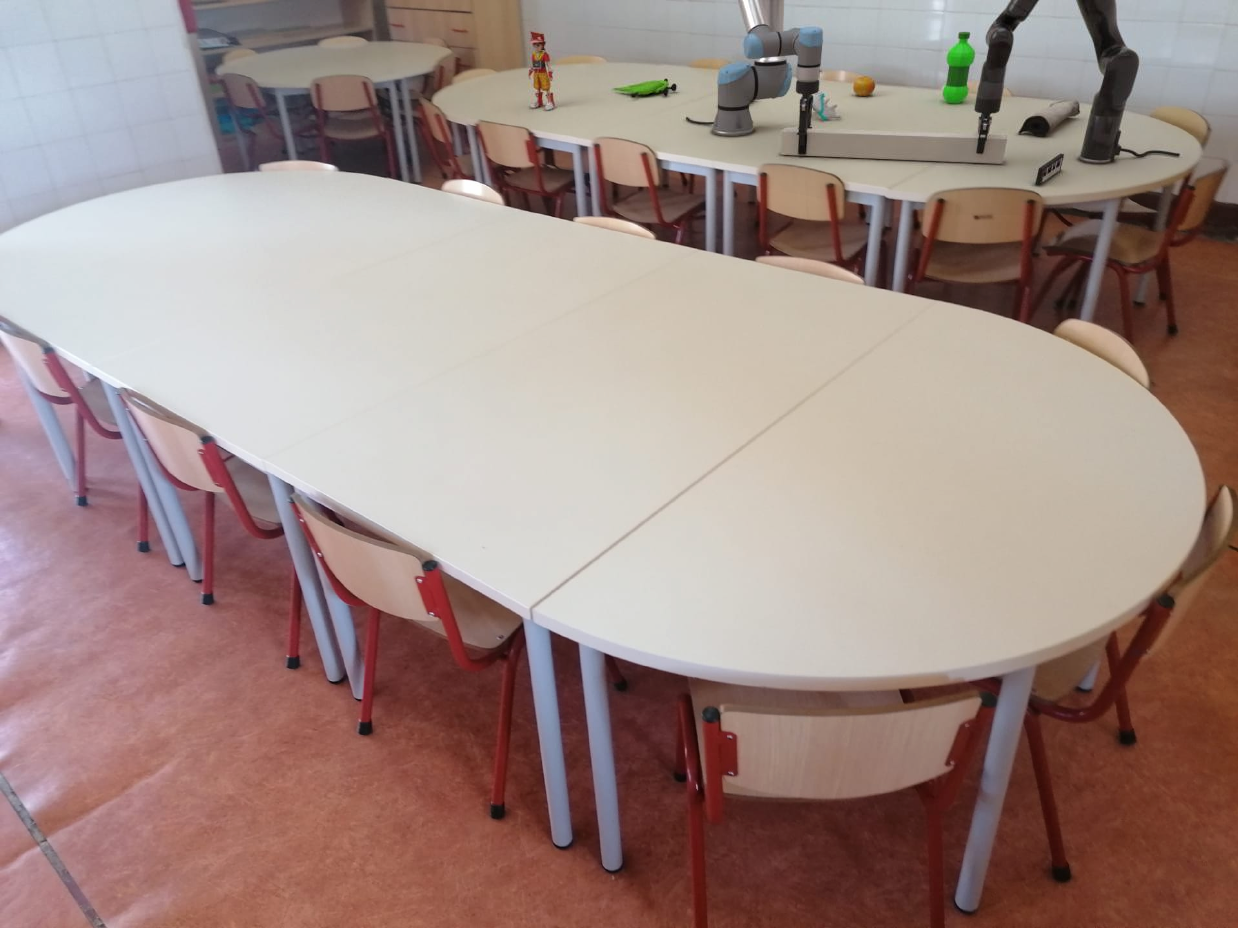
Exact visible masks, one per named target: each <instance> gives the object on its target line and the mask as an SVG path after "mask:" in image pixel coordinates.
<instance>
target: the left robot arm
mask: <svg viewBox="0 0 1238 928" xmlns="http://www.w3.org/2000/svg"><path fill="white" fill-rule="evenodd" d="M737 2H738V5H739V10H740V13H741V16H742V20H743V24H744V28H745V31H746V35H745V36H744V38H743V45H742V47H743V54H744V56H745V58H747V59H748V60H753V62H754V63H753V65H751V63H750V62H748V61H736V62H732V63H727V64H725V65H723V66H722V67H720V69H719V70H718V75H717V111H716V114H715V118H714V120H713V121H698V120H694V119H691V118H690V117H688V116H686V117H685V119H686V120H687V121H688V122H689V123H692V124H697V125H706V126H709V125H712V133H713V134H715V135H717V136H721V137H741V136H746V135H750V134H752V133H754V119H753V118H752V115H751V111H750V103H749V101H751V100H754V101H759V100H770V99H771V100H772V99H773V100H774V99H777V98H778V99H779V98H782V97H785V96H786V95H787V94H788V92H789V90H790V88H791V85H792V80H793V71H792V65H791V63H789V62H788V61H787V57H788V56H796V57H797V64H796V76H795V77H796V79H797V80H796V81H795V92H796V94H799V95H802V96H801V98H800V99H799V114H798V115H799V117H798V128H799V131H798V133H797V135H799V143H798V154H803V155H806V148H807V129H813V126H812V115H813V114H812V113H813V107H812V103H813V96H814V95H816V93H818V91H819V90H820V80H819V79H820V77H821V73H822V72H823V68H821V66H822V65H821V64H822V54H823V43H824V31H823V28H822V27H818V26H805V27H802V28H801V27H792V28H790V29H788V30H784V22H785V21H784V20H785V19H784V18H785V17H784V16H785V0H737ZM803 155H802V156H803Z"/></svg>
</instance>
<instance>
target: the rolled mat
mask: <svg viewBox="0 0 1238 928" xmlns="http://www.w3.org/2000/svg"><path fill="white" fill-rule="evenodd" d="M1080 113H1081V110H1080V102H1079V101H1078V100H1071V99H1069V100H1068V99H1067V100H1060V101H1055V102H1052V103H1050V105H1049V106H1048V107H1046V108H1043V109H1042V110H1040V111H1038V112H1036V113H1034V114H1032V115H1030V116H1028V117H1027V118H1026V119H1025V120H1024V122H1023V124H1022V126H1021V128H1020V129H1019V131H1018V134H1019V135H1020V134H1023V133H1030V134H1031V135H1033V136H1037V137H1045V136H1048V135H1049V134H1050V132H1051V131H1053V129H1055V127H1056V126H1057V125H1059V124H1060V123H1061V122H1063V121H1064V120H1065V119H1066V118H1071V117H1076V116H1078V115H1080Z"/></svg>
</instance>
